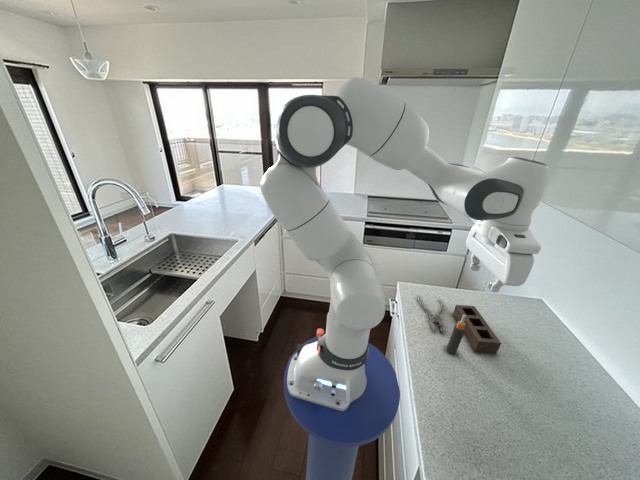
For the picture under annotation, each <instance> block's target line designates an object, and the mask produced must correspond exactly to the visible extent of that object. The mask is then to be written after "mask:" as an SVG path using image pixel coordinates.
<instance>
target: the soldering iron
mask: <svg viewBox="0 0 640 480" xmlns="http://www.w3.org/2000/svg"><path fill="white" fill-rule="evenodd" d="M465 318H466V315H463V317H462V319H461V321H458V323H457V322H456V324H454V326H453V329H452V332H451V334H450V337H449V339H448V342H447V345H446V348H445V350H446V352H447V353H448V354H450V355H456V354H457V352H458V349H459V346H460V345H461V342H462V340H463V337H464V332H465V328H464V327H465V323H464V320H465Z"/></svg>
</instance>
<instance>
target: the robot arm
mask: <svg viewBox="0 0 640 480" xmlns="http://www.w3.org/2000/svg"><path fill="white" fill-rule="evenodd" d="M429 135H430V129H429V125H428V123H426V121H425V120H424V118H423V117H422V116H421V115H420V114H419V113H418V112H417V111H416V110H415V109H414V108H413V107H411V106H410V105H409V104H408V103H407V102H405V101H404V100H402V99H401V98H399V96H397V95H395V94H394V93H392V92H391V91H389V90H387V89H386V88H384V87H382V86H380V85H378V84H377V83H375V82H372V81H370V80H368V79H365V78H363V77H358V76H357V77H356V76H355V77H351V78H349V79H347V80H346V81H344V82H343V83H342V84H341V85H340V86H339V87H338V88H337V89H336V90H335V92H334V94H333V95H320V94H303V95H298V96H295V97H293V98H292V99H290V100H288V101H287V102H286V103H285V104H284V105H283V106H282V108H281V109H280V110H279V112H278V114H277V116H276V119H275V121H274V125H273V137H274V142H275V146H276V149H277V157H278V159H277V161H276V162H275V163H274V164H273V165H272V166H271V167H269V168H268V169H267V171H266V172H265V173H264V175H263V176H262V178H261V181H260V185H259V187H260V192H261V195H262V196H263V198H264V201H265V203H266V204H267V207H268V208H269V209H270V211H271V213H272V214H273V216H274V218H275V219H276V220H277V222H278V223H279V225H280V226H281V228H282V229H283V230H284V231H285V233H286V234H287V236H288V237H289V238H290V240H292V242H293V244H295V246H296V247H297V249H299V251H300V252H301V253H302V255H303V256H304V257H305V258H306V259H307V260H309V261H313V262H315V263H317V264H318V265H319V266H321V267H322V268H323V269H324V271H325V272H326V274H327V277H328V280H329V285H330V286H329V287H330V299H329V300H330V301H329V309H328V312H327V315H326V327H325V330H324V329H323V328H321V327H320V328H317V329H316V336H315V337H318V338H319V339H318V341H316V342H314V343H311V344H304V343H302V344H300V343H297V344H296V350H297V353H296V354H295V355H294V357H293V358H292V360H291V363H290V366H289V370H288V376H287V387H288V391H289V393H290V395H291V396H293V397H296V398H299V399H302V400H306V401H309V402H312V403H316V404H319V405H322V406H326V407H329V408H332V409H336V410H339V411H345V410H346V409H347V408H348V406H349V405H350V403H351V402H353V401H354V400H356V399H357V398H359V397H360V396H361V395H362V394H363V392H364V391H365V388H366V384H367V379H366V374H365V364H366V360H367V357H368V351H369V346H368V343H369V339H370V332H371V329H373V328H375V327H377V326H378V325H379V324H380V323H381V322H382V321H383V319H384V317H385V315H386V299H385V298H386V297H385V291H384V288H383V285H382V282H381V279H380V277H379V273H378V272H377V268H376V266H375V263H374V261H373V257H372V256H371V254H370V253H369V252H368V250H367V249H366V247H365V246H364V245H363V244H362V242H361V241H360V240H359V239H358V237H357V236H356V235H355V234H354V233H353V232H352V230H351V229H350V228H349V226H348V224H346V221H344V219H343V217H342V216H341V214H340V213H339V211H338V210H337V208H336V207H335V205H334V204H333V202H332V201H331V199H330V198H329V196H328V195H327V193H326V192H325V191H324V189H323V187H322V186H321V184H320V182H319V180H318V176H317V168H319V167H321V166H322V165H325V164H326V163H328V162H329V161H331V159H333V158H334V157H335V156H336V155H337V154H338V153H339V152H340V150H341V149H343V148H344V146H350V147H352V148H354V149H356V150H357V151H359V152H360V153H362V154H364V156H366V157H368V158H369V159H371V160H372V161H374V162H376V163H378V164H380V165H382V166H385V167H386V168H388V169H389V168H390V169H392V170H395V171H401V170H406V171H408V172H410V173H411V174H412V175H414V176H415V177H417V178H418V179H420V180H421V181H423V182H424V183H425V184H427V185H428V187H429V189H430V190H431V192H432V194H433V197H434V198H435V200H437V201H438V202H439V203H442V204H444V205H446V206H448V207H450V208H452V209H453V210H455V211H457V212H459V213H460V214H462V215H464V216H466V217H468V218H469V219H473V220H476V222H475V223H474V224H473V226H472V227H471V228H470V231H469V233H468V235H467V237H466V240H465V247H466V248H467V249H468V250H469V252H471V254H470V260H471V261H470V262H471V263H470V265H469V268H470V269H471V270H472V271H473V272H479V271H480V268H481V266H482V265H481V263H482V264H483V266H484V267H486V268H487V270H489V271H490V272H491V273H492V275H494V281H493V282H491V281H490V282H489V284H488V286H487V288H488V290H489V291H491V292H492V293H499V292H500V290H501V288H502V287H503V286H507V287H509V286H510V287H521V286H522V285H524V284H525V283H526V281H527V280H528V277H529V276H530V273H531V271H532V269H533V266H534V263H535V262H534V261H535V257H534V255H538V254H539V253H540V251H541V248H542V246H541V244H540V242H539V241H538V240H537V239H536V236H534V234H533V232H532V231H531V229H530V226H531V223H532V216H533V213H534V211H535V210H536V209H537V208H538V206H539V205H540V203H541V200H542V198H543V196H544V194H545V191H546V187H547V186H548V185H547V184H548V181H549V175H550V167H549V166H548V165H547V164H546V163H544V162H541V161H539V160H535V159H529V158H525V157H521V156H511V157H509V158H508V159H507V160H505V162H503V163H501V164H500V165H497V166H496V167H493V168H491V169H488V170H484V171H480V170H477V169H473V168H471V167H469V166H465V165H463V164H459V163H453V162H451V163H450V162H447V161H445V159H443V158H442V157H441V156H440V155H438V154H437V153H436V152H434V151H433V150H432V149H431V148H429V147H428V146H427V145H428V143H429V139H430V138H429V137H430V136H429ZM295 359H296V360H295ZM290 384H292V385H290ZM337 403H338V404H339V405H337Z"/></svg>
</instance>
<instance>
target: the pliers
mask: <svg viewBox="0 0 640 480" xmlns="http://www.w3.org/2000/svg"><path fill="white" fill-rule="evenodd" d="M417 299H418V304H419V305H420V307H421V308H422V309H423V310H424V311H425V312H426V314H428V317H429V326H430V327H431V329H432V331H433V332H435V331H436V325H437V327H438V328H439V331H440V333H441V334H443V333H444V325H443V322H442V320H441V318H440V315H441V314H442V312H443V310H444V303H443V301H442V300H441V299H439V300H438V301H439V303H440V309H438V311H437V312H436V314H435V315H434V314H433V313H432V312H431V311H430V310H429V309H428V308H427V307H426V306H424V305H423V302H422V301H421V295H418V298H417Z"/></svg>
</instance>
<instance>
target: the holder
mask: <svg viewBox="0 0 640 480" xmlns="http://www.w3.org/2000/svg"><path fill="white" fill-rule="evenodd" d="M463 315H466V318H465V320H464V323H465V327H464V328H465V332H464V334H463V336H464V337H465V339H466V341H467V343H468V344H469V345H470V348H471V349H472V351H473V352H474V353H477V354H486V355H487V354H489V355H497V353H498V351H499V349H500V347H501V345H502V342H501V340H500V339H499V338H498V336H497V335H496V334H495V332H494V331H493V330H492V329H491V327H490V326H489V324H488V322H487V321H486V320H485V319H484V317H483V316H482V314H481V313H480V312H479V310H478V309H477V308H476V306H475V305H463V304H456V305H455V307H454V309H453V312H452V316H453V318H454V320H455V322H456V324H457V323H458V321H461V319H462V317H463Z"/></svg>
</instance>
